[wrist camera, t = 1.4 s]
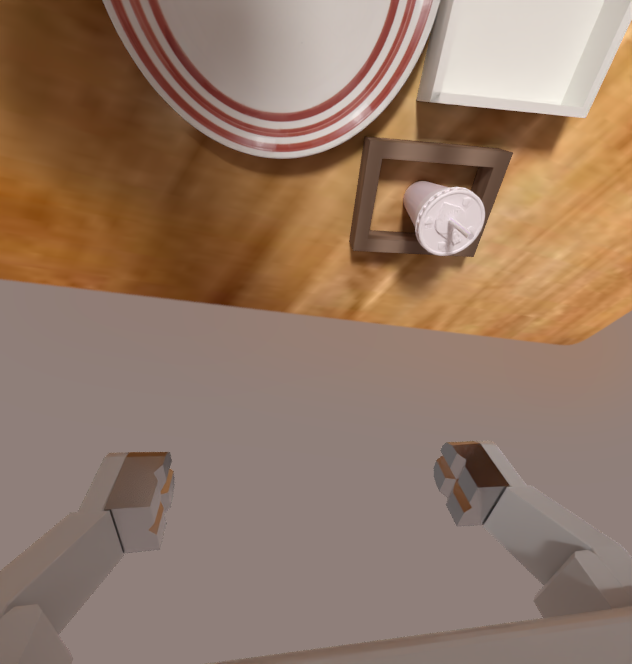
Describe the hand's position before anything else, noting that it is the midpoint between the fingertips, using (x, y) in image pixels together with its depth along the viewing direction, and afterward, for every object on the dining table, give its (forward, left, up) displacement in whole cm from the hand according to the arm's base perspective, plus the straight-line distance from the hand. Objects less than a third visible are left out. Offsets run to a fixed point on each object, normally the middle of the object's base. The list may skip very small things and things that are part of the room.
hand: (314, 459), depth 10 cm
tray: (-16, +20, -34) cm, 43 cm away
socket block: (0, +15, -34) cm, 37 cm away
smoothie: (0, +15, -35) cm, 38 cm away
